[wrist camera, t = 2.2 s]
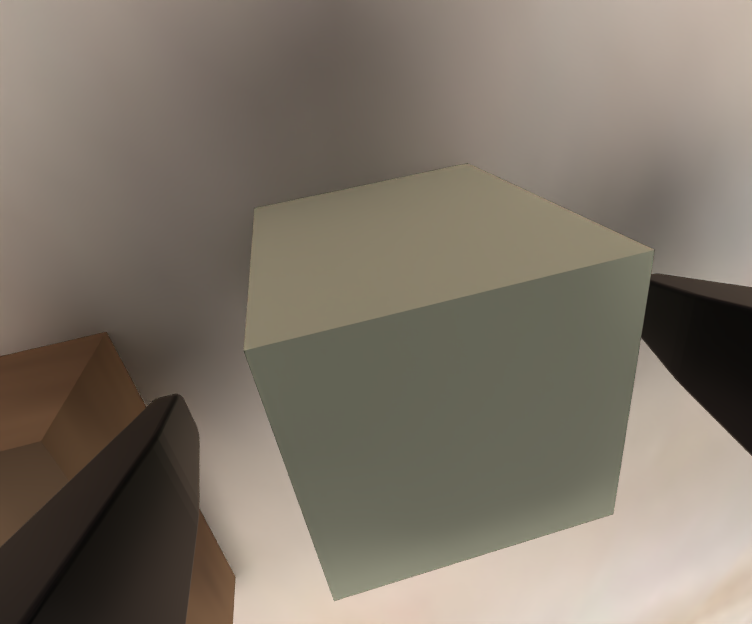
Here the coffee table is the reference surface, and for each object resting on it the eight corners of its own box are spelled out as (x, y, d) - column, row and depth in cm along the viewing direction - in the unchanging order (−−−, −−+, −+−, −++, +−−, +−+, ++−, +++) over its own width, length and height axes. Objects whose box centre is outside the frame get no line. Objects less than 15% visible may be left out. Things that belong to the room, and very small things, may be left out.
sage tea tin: (476, 339, 13) (613, 514, 8) (306, 383, 13) (334, 601, 7) (466, 162, 11) (654, 250, 6) (254, 207, 10) (243, 350, 5)
